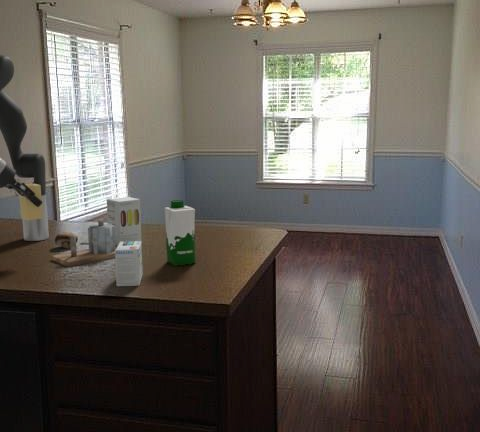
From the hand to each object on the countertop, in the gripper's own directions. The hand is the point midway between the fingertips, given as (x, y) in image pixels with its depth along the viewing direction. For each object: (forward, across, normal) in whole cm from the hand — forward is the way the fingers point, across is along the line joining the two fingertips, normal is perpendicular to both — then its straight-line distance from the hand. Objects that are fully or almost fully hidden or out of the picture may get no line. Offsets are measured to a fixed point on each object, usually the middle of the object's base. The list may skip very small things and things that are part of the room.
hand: (36, 203), depth 187 cm
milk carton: (+36, -36, -9) cm, 52 cm away
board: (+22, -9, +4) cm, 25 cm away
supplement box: (+37, +2, -10) cm, 39 cm away
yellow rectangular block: (+2, 0, +5) cm, 5 cm away
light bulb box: (+20, -42, +7) cm, 47 cm away
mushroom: (+24, +11, +3) cm, 26 cm away
